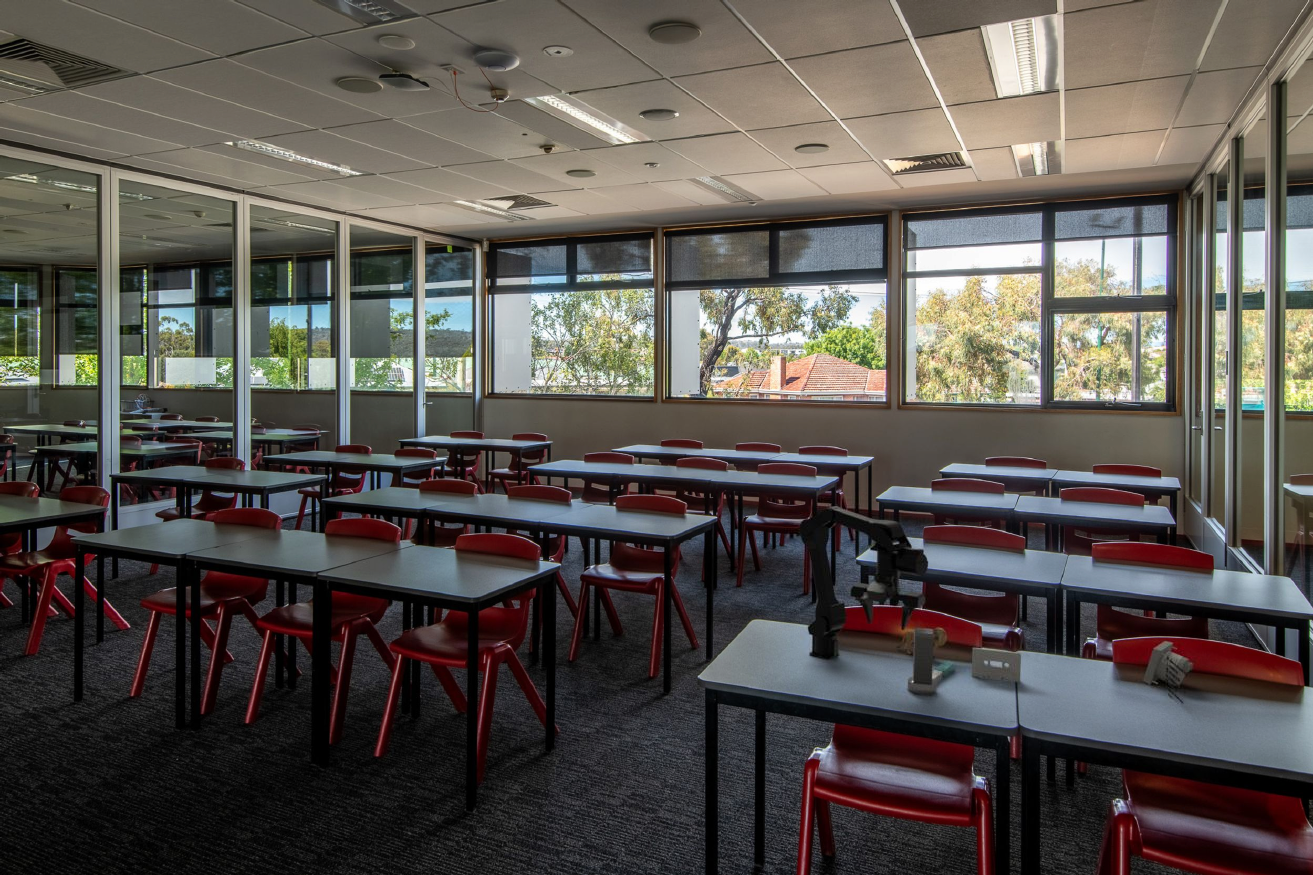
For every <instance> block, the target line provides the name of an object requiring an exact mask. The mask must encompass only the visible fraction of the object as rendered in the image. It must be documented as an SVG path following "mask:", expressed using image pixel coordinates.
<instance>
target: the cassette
mask: <svg viewBox="0 0 1313 875" xmlns="http://www.w3.org/2000/svg"><path fill="white" fill-rule="evenodd" d="M971 656H972V658H971V675H970V676H972V677H976V678H980V679H989V680H995V681H997V680H998V681H1004V682H1005V681H1006V682H1010V683H1011V682H1012V683H1013V682H1015V683H1020V682H1021V665H1022V654H1021V652H1015V651H1006V650H999V649H990V648H980V647H972V654H971ZM991 662H998V663H1001V665H997V664H991ZM1005 664H1008V665H1005Z"/></svg>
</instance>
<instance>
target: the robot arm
mask: <svg viewBox="0 0 1313 875" xmlns="http://www.w3.org/2000/svg"><path fill="white" fill-rule="evenodd" d="M836 524H838V525H840V526H843V527H845V528H848V529H852V530H854V531H857V532H860V533H862V534H865V535H866V536H867V537H868V538H869V539H870V540H871V541H873V542H875V543H874V544H873V545H872V546H870V548H869V550H870V551H873V552H876V573H874V578H873V581H872V582H871V583H870V584H869V583H868V584H867V583H863V582H859V583H857V584H854V585H852V586H851V589H850V594H849V595H850V597H852V598H854V599H855V601H858V602H859V603H860V605H861V606H862V609H863V611H864V613H865V616H866V617H865V618H866V619H867V623H868V624H869V625H870V624H872V621H873V617H874V616H873V613H874V602H878V604H884V603H886V602H887V600H892V601H894V600H895V601H900V602H902V604H903V605H902V606H901V607H900V608H901V610H902V615H901V631H905V630H906V628H907V625H908V622H909V621H910V619H911V616H912V614H913V612H914V611H915V609H918V608H920V607H922V606H923V605H925V604H926V597H925V595H924V593H922V592H917V591H912V590H910V591H908V592H906V593H899V592H901V587H900V584H899V583H900V582H899V581H900V580H899V579H900V577H901V576H902V575H901V574H902V573H904V574H908V575H913V576H917V577H918V576H919V577H922V576H925V574H926V573H927V571H928V568H929V561H928V558H927V555H926V554H924V553H925V550H924V549H923V548H912V544H911V542H910V541H909V539H908V537H907V535H906V534H905V532H904V528H903V526H902V524H901V523H900V522H898V521H895V520H887V519H873V518H870V517H867V516H865V515H862V514H860V513H856V512H853V511H850V510H847V509H843V508H842V507H840V506H830V507H826V508H825V509H823V510H821V512H819V513H817V514H815V515H813V516H811V517H810V518H805V519H803V520H802V521H801V522H800V524H798V533H799V536H800V538H801V542H802V543H803V544H804V546H805V547H806V548H807V550H808V552H809V558H810V563H811V569H812V574H813V579H814V586H815V590H816V591H815V592H816V595H817V602H816V606H815V610H814V617H815V619H814V621H813V622H810V625H807V630H808V635H810V636H812V638H811V651H810V652H808V653H809V655H810V656H812V657H813V656H814V657H818V658H821V659H826V660H831V659H833V658H835V657H836V656H838V655H840V652H839V640H838V634H839V633H841V631H842V628H843V627H844V626H845V624H846V621H847V620H846V619H847V617H848V615H847V613H846V605H845V603H844V602H840V601H839V600H838V599H837V597H836V595H835V588H834V582H833V578H832V577H833V576H832V572H831V566H830V562H829V556H828V551H827V546H828V542H829V539H830V529H831V528H833V527H835V526H836Z"/></svg>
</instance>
